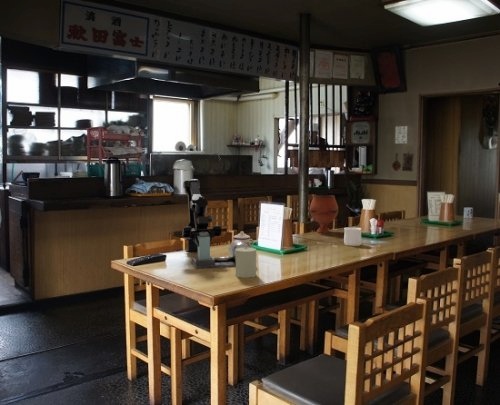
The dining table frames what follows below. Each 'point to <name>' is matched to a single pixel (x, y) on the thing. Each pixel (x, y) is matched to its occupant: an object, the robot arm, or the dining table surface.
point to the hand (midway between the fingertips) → (204, 245)
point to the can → (245, 262)
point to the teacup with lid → (243, 238)
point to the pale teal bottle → (204, 246)
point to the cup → (352, 236)
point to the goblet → (323, 211)
